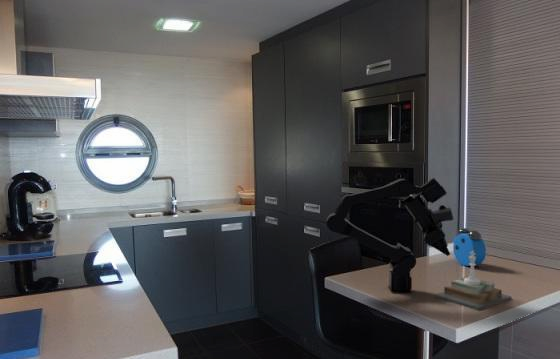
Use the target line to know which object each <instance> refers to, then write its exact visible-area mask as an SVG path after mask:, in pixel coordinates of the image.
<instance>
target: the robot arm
mask: <svg viewBox="0 0 560 359" xmlns="http://www.w3.org/2000/svg"><path fill="white" fill-rule="evenodd" d="M412 195H413V196H412ZM446 195H447V191H446V189H445V188H444V187H443V185H441V183H440V182H438V181H437V180H436V178H433V177H432V178H431V179H429V180H428V181H427V182H425V183H424V184H422V185H421V186H419V185H413V184H412V182H411V181H409V180H408V179H405V178H399V179H396V180H394V181H391V182H389V183H387V184H386V185H384V186H381V187H377V188H373V189H368V190H364V191H360V192H357V193H352V194H345V195H344V196H343V197H342V199H341V201H340V203H339V204H338V206H337V207H336V209H335V210H334V212H333V213H332V212H331V213H330V214H329V215H328V216H327V218H326V226H327V229H328V230H329V231H330V232H332V233H336V234H339V235H341V236H346V237H350V238H352V239H354V240H356V241H357V242H359V243H361V244H363V245H365V246H367V247H369V248H371V249H373V250H374V251H376V252H378V253H380V254H382V255H384V256H386V257H387V258H388V259H390V261H389V263H388V265H389V267H390V269H391V270H389V272H388V276H389V277H388V279H389V280H388V284H389V285H387V288H388V289H389V291H390V292H391V293H392V294H393V293H394V294H395V293H399V294H403V293H407V294H408V293H409V294H410V293H411V294H412V289H413V288H412V287H413V285H412V284H413V282H412V280H413V278H412V276H411V271H412V269H414V268H416V265H417V259H416V256H415V255H414V254H413V252H412V250H411V249H410V248H409V247H407V246H403V245H402V244H401V243H400V242H397V243H396V245H392V244H390V243H388V242H386V241H384V240H382V239H380V238H378V237H377V236H375V235H372V234H371V233H369V232H367V231H366V230H363V229H362V228H360V227H357V226H356V225H354V224H353V223H352V222H350V221H349V220H348V219H347V216H348V214H349V212H350V210H351V209H352V207H354V206H357V205H361V204H362V205H363V204H367V203H370V202H375V201H379V200H382V199H392V198H393V199H394V198H395V199H396V198H397V199H398V198H404V199H399V200H398V201H399V202H398V203H399V204H398V208H400V209H403V208H404V207H405V208H406V209H407V212H409V214H410V215H411V216H412V217H413V220H414V222H415V223H416V224H417V225H418V226H419V228H420V229H421V233H423V234H424V235H423V240H424V242H425V243H426V245H428V246H430V247H432V248H433V249H435V250H437V251H439V252H441V254H443V255H445V256H447V257H448V256H450V255H451V252H450V250H449V248H448V245H449V244H448V243H447V241H446V233H445V231H444V229H443V223H442V222H447V221H449V222H450V221H453V220H454V216H453V215H454V214H453V211H452V208H451V207H447V206H446V205H444V204H440V205H439V206H438V209H436V210H434V211H433V210H432V209H431V208H430V207H428V205H427V204H428V203H430V204H434V203H436V202H437V201H439V200H440V199H442V198H443V197H444V196H446ZM426 203H427V204H426Z"/></svg>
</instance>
